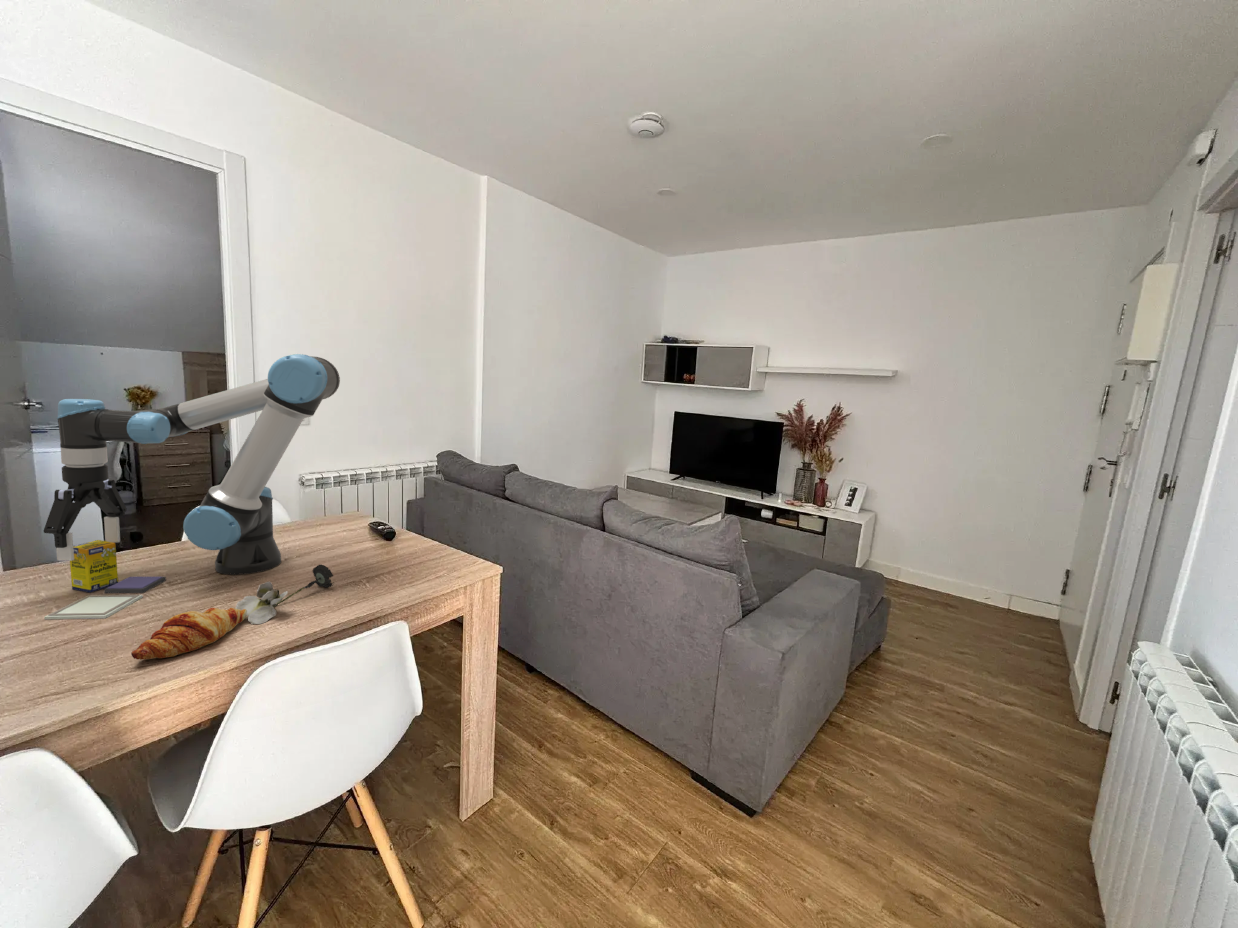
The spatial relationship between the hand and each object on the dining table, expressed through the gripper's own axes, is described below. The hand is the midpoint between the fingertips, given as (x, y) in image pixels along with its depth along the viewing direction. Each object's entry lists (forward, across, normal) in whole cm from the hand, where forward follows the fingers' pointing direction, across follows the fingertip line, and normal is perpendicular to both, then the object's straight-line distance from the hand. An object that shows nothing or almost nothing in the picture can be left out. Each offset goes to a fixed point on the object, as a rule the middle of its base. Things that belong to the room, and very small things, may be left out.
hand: (90, 550), depth 121 cm
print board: (+9, +12, +9) cm, 18 cm away
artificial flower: (+9, +12, +49) cm, 51 cm away
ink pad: (+9, 0, +9) cm, 13 cm away
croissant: (+9, +29, +38) cm, 49 cm away
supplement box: (+10, 0, +1) cm, 10 cm away
